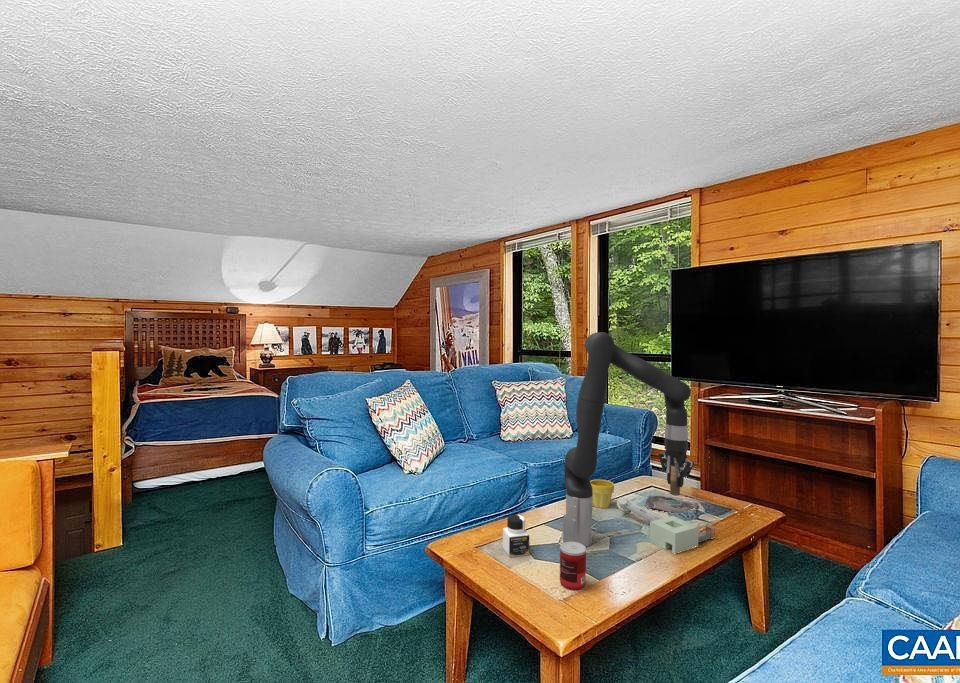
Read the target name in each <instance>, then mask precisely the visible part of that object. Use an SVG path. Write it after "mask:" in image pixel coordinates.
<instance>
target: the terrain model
mask: <svg viewBox="0 0 960 683" xmlns="http://www.w3.org/2000/svg"><path fill="white" fill-rule="evenodd" d="M643 506H645V507H646V508H647V509H646V508H645V507H644V508H645V509H646V510H649V509H652V510H651V511H655V510H658V511H657V512H660V511H664V512H663V513H665V512H671V513H682V512H683V513H684V512H686V511H688V510H690V509H693V508H695V509H696V508H697V507H698V508H699V503H698V502H693V501H687V500H683V499H682V500H681V499H676V498H673V497H668V496H661V495H649V496H648V497H647V499H646V501H645V503H644V505H643ZM698 508H697V509H698ZM671 513H670V514H671Z"/></svg>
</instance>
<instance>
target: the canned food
mask: <svg viewBox="0 0 960 683" xmlns="http://www.w3.org/2000/svg"><path fill="white" fill-rule="evenodd" d="M586 572H587V548H586V547H585V546H584V545H582V544H580V543H577V542H563V543H561V544H560V547H559V583H560V585H561V586H562V587H564V588H565V589H567V590H572V591H578V590H581V589H583V588H584V587H585V585H586Z"/></svg>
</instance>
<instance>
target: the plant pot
mask: <svg viewBox="0 0 960 683" xmlns="http://www.w3.org/2000/svg"><path fill="white" fill-rule="evenodd" d="M590 483H591V485H592V488H593V500H592V506H594V507H596V508H600V509H608V508H610V504H611V500H612V499H611V498H612V496H613V493H614V492H615V484H614V482H612V481H610V480H606V479H592V480H591V479H590Z"/></svg>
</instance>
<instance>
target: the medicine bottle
mask: <svg viewBox="0 0 960 683" xmlns="http://www.w3.org/2000/svg"><path fill="white" fill-rule="evenodd" d="M506 521H507V524H506V525H507V526H506V527H503V528H502V549H503V550H504V552H505V553H506V554H507V556H508V557H509V558H512V557H514V558H515V557H522V556H529V555H530V533H529V532H528V531H527V530H526V519H525V517H524V516H522V515H520V514H511V515H509V516H507V520H506Z"/></svg>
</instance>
